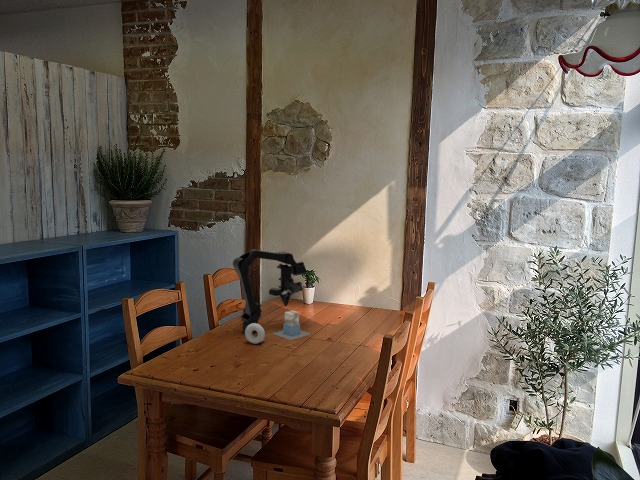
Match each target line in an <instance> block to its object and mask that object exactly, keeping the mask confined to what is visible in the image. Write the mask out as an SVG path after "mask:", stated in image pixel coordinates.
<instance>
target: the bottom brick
mask: <svg viewBox="0 0 640 480" xmlns="http://www.w3.org/2000/svg"><path fill="white" fill-rule="evenodd" d="M282 326H283V328H282V330H283V334H286V335H289V336H294V335H298V334H300V330H301V324H300V323H299V324H297V325H293V326H290V325H287V324H285V323H283V324H282Z"/></svg>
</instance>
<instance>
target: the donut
mask: <svg viewBox="0 0 640 480" xmlns="http://www.w3.org/2000/svg"><path fill="white" fill-rule="evenodd" d="M253 330H255V331H257V332H256V333H257V336H255V335H254V334H252V331H253ZM265 335H266V332H265V329H264V327H262V325H261V324H259V323H252V324H250V325H248V326H247V328H246V330H245V334H244V336H245V338H246V340H247V341H248V342H250V343H251V344H254V345H255V344H257V345H258V344H261V343H263V341H264V340H265V338H266V337H265Z"/></svg>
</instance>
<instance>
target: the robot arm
mask: <svg viewBox="0 0 640 480" xmlns="http://www.w3.org/2000/svg"><path fill="white" fill-rule="evenodd" d="M256 259H261V260H262V259H263V260H271V261H277V262H280V263H279V264H278V265H277V266H276V268H277V269H279V270H280V277H279V278H278V280H279V281H280V285H278V288H277V287H274V288H269V291H268V295H271V296H275V297H278V296H279V297H280V299H281V302H283V305H284V307H287V306H288V304H289V301H290V299H291V297H292V296H293V295H294V294H296V293H299V292H302V291H303V286H302V285H303V283H302V282H301V281H298V282H294V278H292V277H293V276H304V275H306V273H307V269H306V266H305V262H303V261H299V262H296V260H295V258H294V255H293V253H289V252H286V251H278V252H273V251H265V250H259V249H255V248H254V249H253V248H251V249H250V250H248V251H246V252H245V253H244V254H241V255H240V256H239V257H236V258H234V260H233V261H232V266H233V268H234V269H233V270H234V272H236V274H237V276H238V278H239V281H240V285H241V289H242V294H243V299H244V302H245V304H244V313H242V315H241V316H240V319H241V321H242V334H244V335H245V330H246V328H247V326H248V325H250V324H252V323H257V324H259V319H260V318H261V316H262V309H261V305H260V303H258V302H256V301H255V297H254V293H253V289H252V285H251V282H250V277H249V274H250V266H251V265H252V264H253V263H254V262H255V260H256ZM292 275H293V276H292ZM255 333H257V331H255V330H253V331H252V334H253V335H254V334H255Z"/></svg>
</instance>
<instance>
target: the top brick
mask: <svg viewBox="0 0 640 480" xmlns="http://www.w3.org/2000/svg"><path fill="white" fill-rule="evenodd" d="M284 324H287V325H290V326H293V325H297V324H300V312H299V311H296V310H288V311H284Z"/></svg>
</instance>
